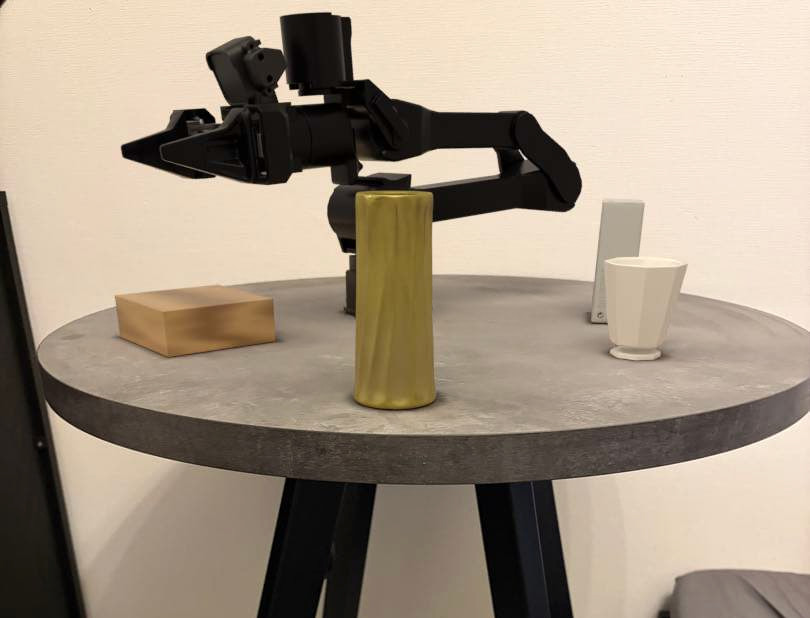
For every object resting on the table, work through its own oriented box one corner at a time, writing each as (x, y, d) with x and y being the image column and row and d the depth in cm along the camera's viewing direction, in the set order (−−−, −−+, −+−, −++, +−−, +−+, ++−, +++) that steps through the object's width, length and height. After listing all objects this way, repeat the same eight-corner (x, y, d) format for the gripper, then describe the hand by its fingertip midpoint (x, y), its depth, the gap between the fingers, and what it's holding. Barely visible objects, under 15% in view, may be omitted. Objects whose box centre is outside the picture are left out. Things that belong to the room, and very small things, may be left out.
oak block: (221, 323, 91) (218, 284, 89) (275, 341, 83) (273, 298, 81) (120, 337, 84) (114, 295, 83) (167, 357, 77) (162, 311, 75)
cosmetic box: (631, 325, 90) (645, 202, 85) (590, 323, 91) (601, 201, 86) (630, 314, 96) (642, 198, 91) (590, 313, 97) (601, 198, 92)
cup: (594, 361, 76) (603, 265, 72) (596, 338, 84) (605, 251, 81) (677, 366, 74) (691, 268, 71) (671, 342, 83) (683, 253, 80)
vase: (352, 388, 67) (347, 190, 61) (431, 387, 68) (434, 190, 62) (355, 411, 62) (350, 195, 56) (440, 409, 62) (445, 195, 56)
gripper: (239, 49, 87) (84, 54, 79) (340, 33, 73) (165, 36, 65) (254, 170, 92) (110, 185, 84) (351, 175, 78) (190, 195, 70)
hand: (140, 152), depth 75 cm, fingers open, 9 cm apart
